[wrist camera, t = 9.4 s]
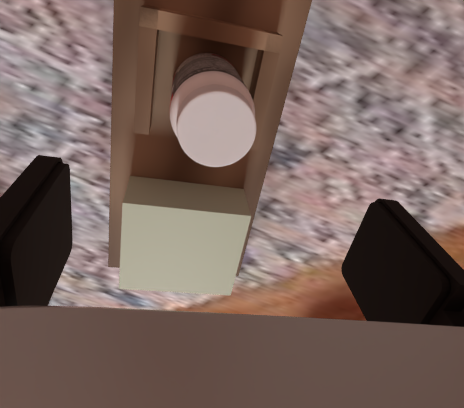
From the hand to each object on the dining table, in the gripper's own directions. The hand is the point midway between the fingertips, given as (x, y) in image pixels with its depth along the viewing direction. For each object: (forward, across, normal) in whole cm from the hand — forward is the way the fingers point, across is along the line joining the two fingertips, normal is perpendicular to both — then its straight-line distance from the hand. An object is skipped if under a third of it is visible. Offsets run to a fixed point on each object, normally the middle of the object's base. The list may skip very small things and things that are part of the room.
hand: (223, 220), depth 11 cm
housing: (+18, 0, +5) cm, 19 cm away
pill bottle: (+16, 0, 0) cm, 16 cm away
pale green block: (+16, 0, +11) cm, 20 cm away
